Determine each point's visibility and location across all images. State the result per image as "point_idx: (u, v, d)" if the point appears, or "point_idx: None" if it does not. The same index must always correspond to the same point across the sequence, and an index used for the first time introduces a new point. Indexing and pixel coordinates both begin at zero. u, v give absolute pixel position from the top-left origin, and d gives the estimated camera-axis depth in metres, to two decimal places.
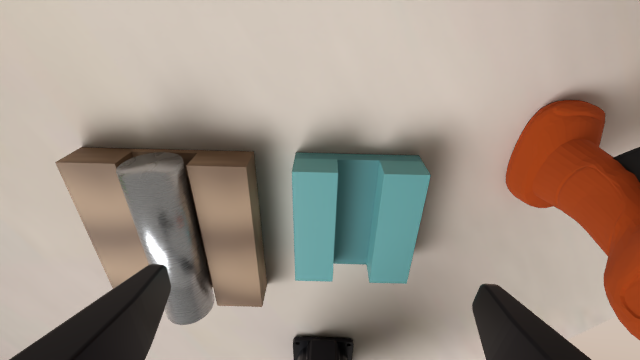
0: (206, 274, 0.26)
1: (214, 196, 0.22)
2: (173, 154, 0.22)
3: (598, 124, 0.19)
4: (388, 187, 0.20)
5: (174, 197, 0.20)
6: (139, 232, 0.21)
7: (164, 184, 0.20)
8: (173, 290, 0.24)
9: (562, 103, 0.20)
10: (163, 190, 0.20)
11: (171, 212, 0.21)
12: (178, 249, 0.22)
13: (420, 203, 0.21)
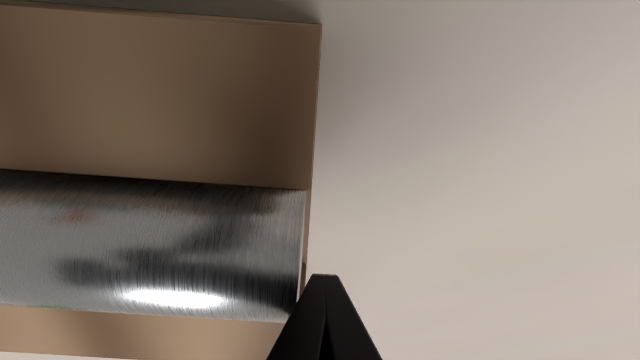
0: (172, 191, 0.09)
1: None
2: None
3: None
4: None
5: None
6: None
7: None
8: (131, 292, 0.08)
9: None
10: None
11: None
12: None
13: None
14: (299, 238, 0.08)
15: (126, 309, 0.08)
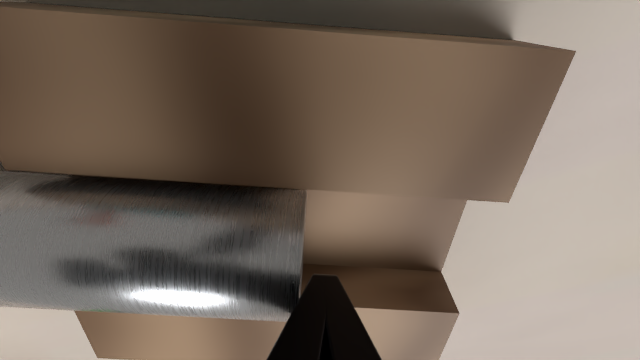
0: (174, 191, 0.09)
1: (74, 121, 0.08)
2: None
3: None
4: None
5: None
6: None
7: None
8: (133, 293, 0.08)
9: None
10: None
11: None
12: None
13: None
14: (301, 237, 0.08)
15: (129, 309, 0.08)
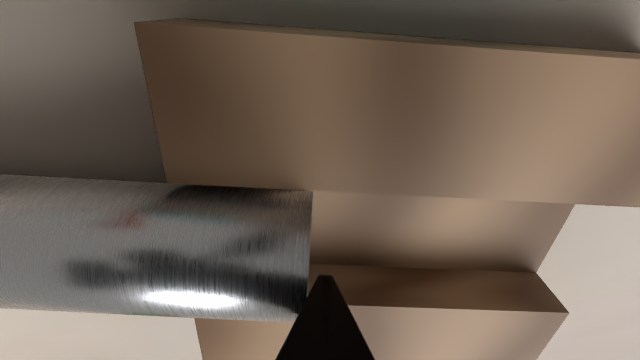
0: (182, 193, 0.09)
1: (250, 136, 0.08)
2: None
3: None
4: None
5: None
6: None
7: None
8: (143, 294, 0.08)
9: None
10: None
11: None
12: None
13: None
14: (308, 237, 0.08)
15: (138, 310, 0.08)
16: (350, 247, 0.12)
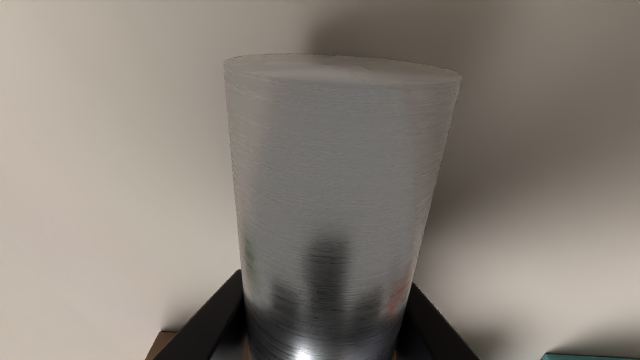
0: None
1: None
2: (369, 57, 0.07)
3: None
4: None
5: (432, 189, 0.05)
6: (273, 316, 0.06)
7: (438, 129, 0.04)
8: None
9: None
10: (428, 156, 0.05)
11: (410, 248, 0.05)
12: None
13: None
14: None
15: None
16: None
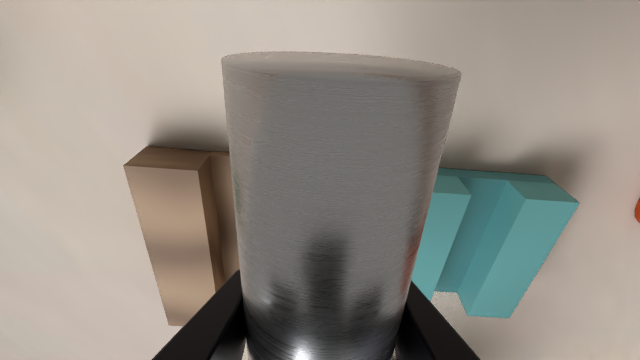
0: None
1: None
2: (369, 55, 0.07)
3: None
4: (525, 213, 0.17)
5: (431, 187, 0.05)
6: (271, 314, 0.06)
7: (437, 126, 0.04)
8: None
9: None
10: (427, 153, 0.05)
11: (409, 246, 0.05)
12: None
13: (555, 234, 0.18)
14: None
15: None
16: (233, 230, 0.21)
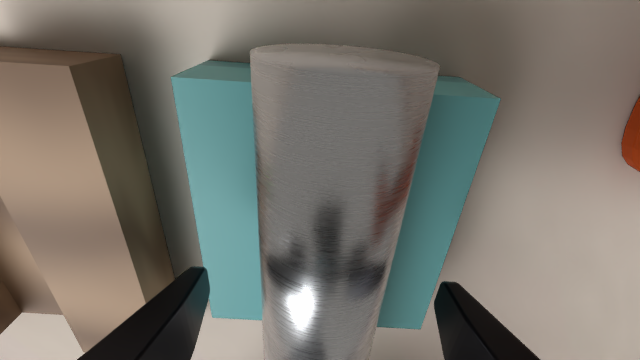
0: None
1: (16, 139, 0.10)
2: (371, 48, 0.08)
3: None
4: None
5: (413, 159, 0.07)
6: (282, 257, 0.07)
7: (416, 110, 0.06)
8: None
9: None
10: (407, 131, 0.06)
11: (394, 206, 0.07)
12: (367, 305, 0.08)
13: (466, 170, 0.09)
14: None
15: None
16: None
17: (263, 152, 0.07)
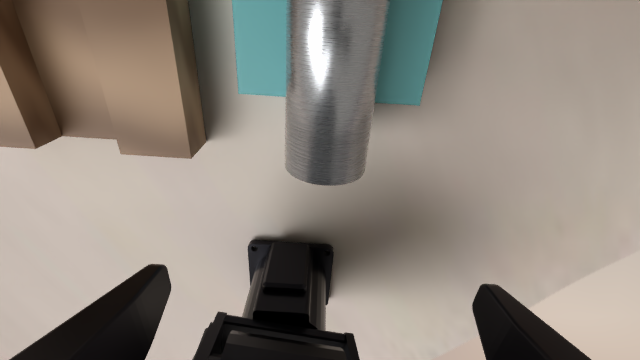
0: None
1: None
2: None
3: None
4: None
5: None
6: None
7: None
8: (335, 91, 0.12)
9: None
10: None
11: None
12: None
13: None
14: (357, 177, 0.15)
15: (316, 80, 0.12)
16: None
17: None
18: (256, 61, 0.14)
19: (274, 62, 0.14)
